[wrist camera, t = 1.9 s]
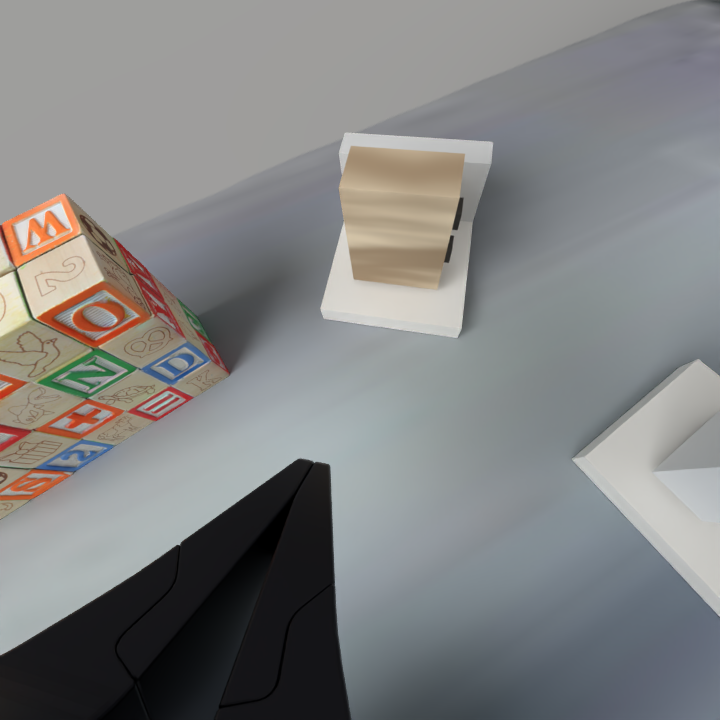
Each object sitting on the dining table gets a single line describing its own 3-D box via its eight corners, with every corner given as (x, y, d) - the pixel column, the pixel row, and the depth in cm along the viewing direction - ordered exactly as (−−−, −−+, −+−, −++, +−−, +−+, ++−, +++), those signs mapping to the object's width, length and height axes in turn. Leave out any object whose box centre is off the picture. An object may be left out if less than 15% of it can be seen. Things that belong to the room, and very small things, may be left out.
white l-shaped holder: (457, 338, 24) (480, 288, 18) (323, 318, 26) (304, 266, 20) (470, 214, 28) (493, 139, 22) (354, 203, 30) (345, 130, 24)
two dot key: (443, 290, 24) (467, 199, 16) (353, 279, 25) (338, 187, 17) (447, 255, 25) (473, 154, 17) (361, 245, 26) (350, 145, 18)
